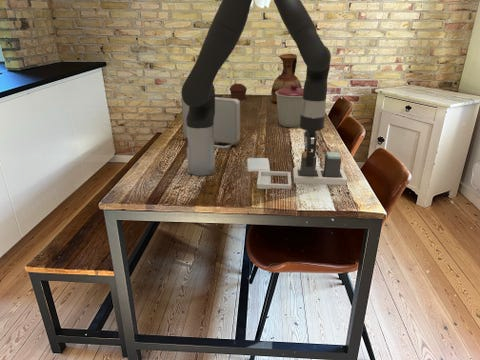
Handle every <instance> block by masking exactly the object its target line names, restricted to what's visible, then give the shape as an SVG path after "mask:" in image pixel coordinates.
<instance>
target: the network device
mask: <svg viewBox="0 0 480 360" xmlns="http://www.w3.org/2000/svg"><path fill="white" fill-rule="evenodd" d="M180 99H181V100H180V101H181V102H180V103H181V115H182V116H181V117H182V129H183V136H184V137H185V138H187V139H188V137H187V123H186V118H187V115H188V112H189V106H188V105H186V104H185V102H184V101H183V99H182V98H180ZM240 139H241V101H239V100H238V99H232V98H230V97H229V98H227V97H217V96H215V116H214V148H219V149H229V148H231V147H232V146H233V145H234V144H237V143H238V142H239V141H240ZM218 142H219V143H226V144H227V145H218V144H217V143H218Z"/></svg>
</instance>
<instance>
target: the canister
mask: <svg viewBox="0 0 480 360" xmlns="http://www.w3.org/2000/svg"><path fill="white" fill-rule="evenodd" d="M297 87H298V85H297V84H296V83H292V84H291V88H282V89H279V90H278V91H276V92H275V93H276V95H277V102H276V105H277V106H276V108H277V118H278V124H280V125H281V126H283V127H285V128H294V129H295V128H300V115H301V105H302V100H303V90H304V87H302V88H297Z"/></svg>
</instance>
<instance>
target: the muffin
mask: <svg viewBox="0 0 480 360" xmlns="http://www.w3.org/2000/svg"><path fill="white" fill-rule="evenodd" d="M247 90H248V89H247V86H245V85H244V84H243V83H235V84H233V85H231V86H230V88H229V91H230V97H231V99H238V100H239V101H240V102H241V101H244V100H245V99H246V96H247V95H246V94H247Z"/></svg>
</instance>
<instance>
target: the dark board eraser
mask: <svg viewBox="0 0 480 360" xmlns="http://www.w3.org/2000/svg"><path fill="white" fill-rule="evenodd" d="M341 164H342V156H341V154H340V152H336V151H335V152H334V151H333V152H332V151H326V153H325V156H324V165H323V169H324V173H323V177H333V178H339V174H340V170H341Z"/></svg>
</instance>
